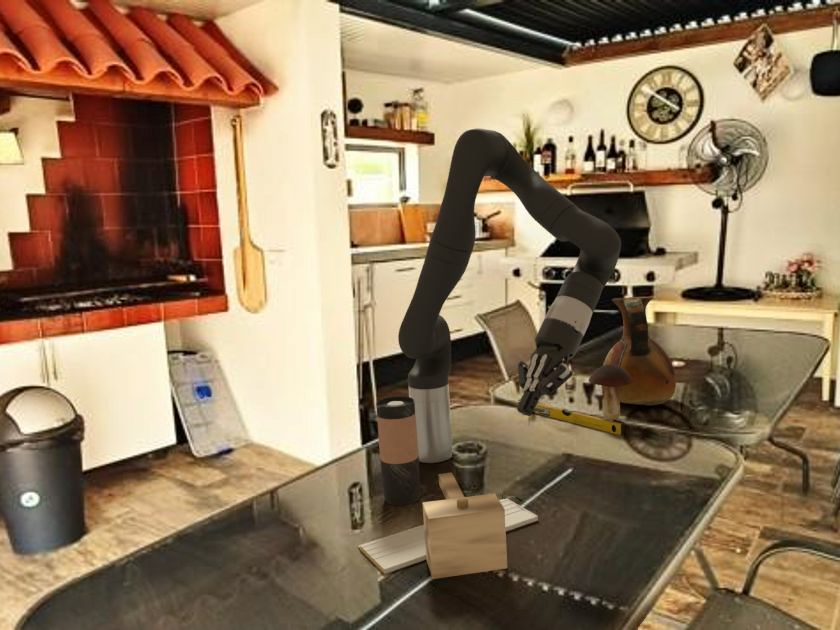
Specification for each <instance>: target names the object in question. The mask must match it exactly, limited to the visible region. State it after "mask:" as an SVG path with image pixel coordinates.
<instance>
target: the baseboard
mask: <svg viewBox="0 0 840 630" xmlns="http://www.w3.org/2000/svg"><path fill="white" fill-rule="evenodd" d="M499 495H500V498H499V499H498V500H499V501H500V503H501V504H502V506H503V507H504V509H505V529H506V532H509V531H512V530H515V529H518V528H520V527H523V526H526V525H529V524H532V523H535V522H537V521H539V516H538V515H537V514H535V513H533V512H532V511H530V510H527V509H526V508H525V507H523V506H521V505H520V504H517V503H515V502H514V501H512V500H511V499H509V498H504V495H507V496H509V494H507V493H506V492H505V491H503V492H502V493H499ZM511 498H513V499H514V500H516V501H518V502H520V503H522V504H523V505H524V506H527V507H528V508H530V509H531V510H533V511H536V513H538V510H535V509H534V508H532V507H530V506H529V505H526V504H525V503H523V499H522V498H519V497H517V496H515V498H514V497H512V496H511ZM357 548H358V549H359V550H360V551H361V552H362V553H363V554H364V555H365V556H366V557H367V558H368V560H370V561H371V562H372V563H373V564H374V565H375V566H376V567H377V568H378V569H379V570H380V571H381V572H382V573H383V574H384V575H385V574H389V573H391V572H394V571H398V570H400V569H403V568H406V567H409V566H411V565H414V564H417V563H420V562H423V561H425V560H426V547H425V533H424V524H421V525H417V526H416V527H412V528H409V529H405V530H402V531H400V532H397V533H396V532H395V533H392V534H391V535H387V536H385V537H381V538H378V539H375V540H372V541H368V542H364V543H362V544H359V545H357ZM426 561H427V560H426Z"/></svg>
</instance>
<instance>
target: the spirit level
mask: <svg viewBox="0 0 840 630" xmlns="http://www.w3.org/2000/svg"><path fill="white" fill-rule="evenodd" d="M520 400H521V398H520V399H518V402H519V401H520ZM536 406H537V407H539V408H542V409H544V410H545V411H544V412H539V413H537V414H536V415H540V416H541V415H542V416H544V417H548V418H553V419H556V420H560V421H564V422H568V423H573V424H577V425H579V426H584V427H588V428H592V429H595V430H600V431H603V432H606V433H607V432H608V433H611V434H615V435H619V436H620V437H621V436H623V435H626V432H625V431H626V426H625V425H626V424H625V423H624V422H623V423H622V422H616V421H610V420H606V419H605V418H601V417H597V416H592V415H588V414H585V413H579V412H576V411H572V412H570V411H566V409H563V408H559V407H554V406H550V405H547V404H542V403H539V402H538V403H537V405H536Z"/></svg>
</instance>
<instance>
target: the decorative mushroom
mask: <svg viewBox="0 0 840 630" xmlns="http://www.w3.org/2000/svg"><path fill="white" fill-rule="evenodd" d="M588 382H589V383H590V384H593V385H597V386H602V385H603V386H605V390H604V394H603V399H602V400H603V401H602V414H603V415H602V416H603V419H607V420H616V421H617V419H618V420H620V417H621V416H620V415H621V402H620V401H619V394H618V389H617V386H624V385H629V384H631V383H633V379H632V378H631V376H630V375H629V373H628V372H627V371H625V370H624V369H623V368H621V367H620V366H618V365H615V364H606V365H604V366H603V365H602V366H599V367H598V368H596V369H595V370H594V371H593V372H592V373H591V374H590V376H589V378H588Z"/></svg>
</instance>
